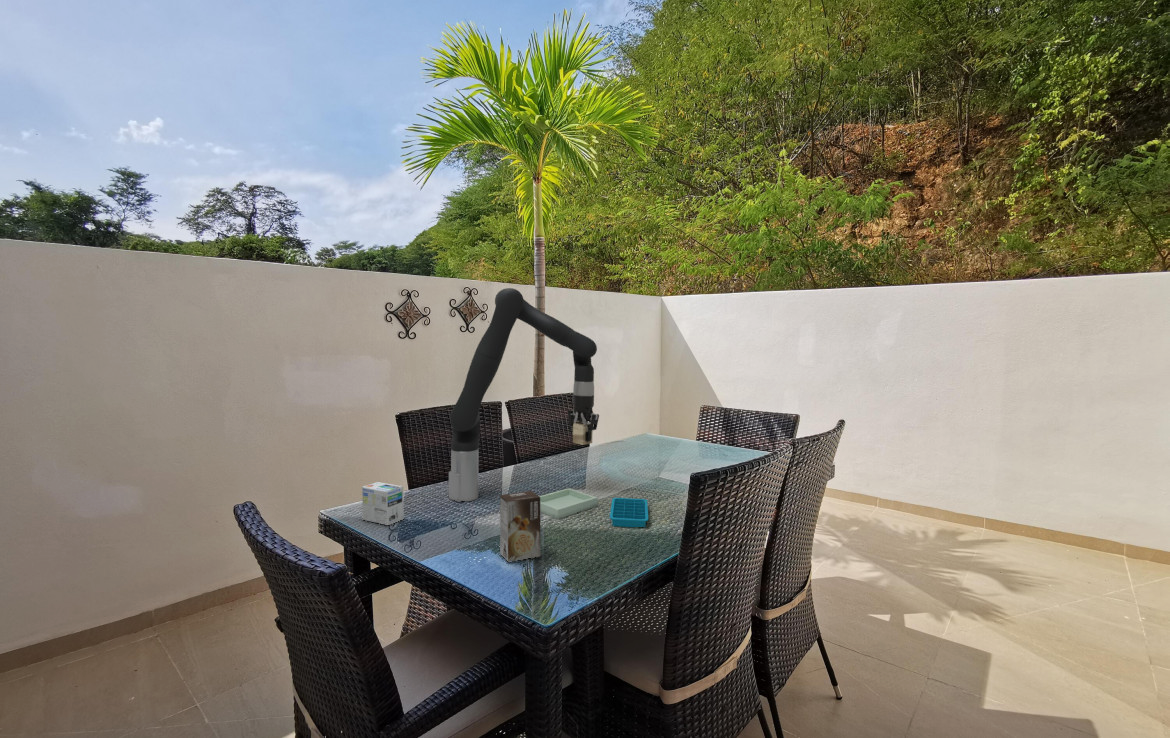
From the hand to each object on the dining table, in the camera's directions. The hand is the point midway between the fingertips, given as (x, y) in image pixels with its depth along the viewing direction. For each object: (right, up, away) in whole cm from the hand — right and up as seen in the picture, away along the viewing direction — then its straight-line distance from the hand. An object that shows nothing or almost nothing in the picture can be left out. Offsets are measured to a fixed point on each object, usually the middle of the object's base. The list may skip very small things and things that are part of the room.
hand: (582, 439), depth 191 cm
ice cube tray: (+15, -22, -23) cm, 35 cm away
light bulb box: (-61, -21, -31) cm, 71 cm away
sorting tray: (-6, -20, -16) cm, 26 cm away
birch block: (0, -1, 0) cm, 1 cm away
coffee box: (-16, -23, -54) cm, 61 cm away
